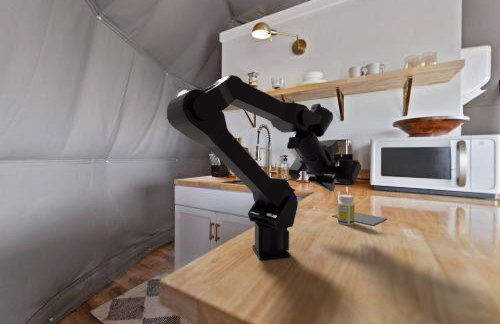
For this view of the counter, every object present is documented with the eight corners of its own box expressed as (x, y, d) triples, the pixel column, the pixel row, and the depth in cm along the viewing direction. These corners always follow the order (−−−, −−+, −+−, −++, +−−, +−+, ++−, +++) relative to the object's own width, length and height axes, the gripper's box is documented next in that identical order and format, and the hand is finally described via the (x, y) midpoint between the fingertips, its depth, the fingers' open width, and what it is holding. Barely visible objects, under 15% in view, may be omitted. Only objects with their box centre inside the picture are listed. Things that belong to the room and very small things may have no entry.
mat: (372, 225, 68) (372, 224, 68) (332, 216, 78) (332, 215, 78) (386, 219, 75) (386, 218, 75) (347, 211, 85) (347, 210, 85)
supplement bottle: (351, 221, 73) (351, 194, 72) (356, 225, 68) (357, 197, 68) (335, 220, 73) (336, 194, 73) (340, 225, 68) (340, 197, 68)
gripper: (359, 125, 54) (376, 171, 61) (295, 131, 68) (315, 167, 75) (341, 159, 49) (362, 204, 56) (276, 158, 63) (300, 193, 71)
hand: (332, 189), depth 65 cm, fingers closed
